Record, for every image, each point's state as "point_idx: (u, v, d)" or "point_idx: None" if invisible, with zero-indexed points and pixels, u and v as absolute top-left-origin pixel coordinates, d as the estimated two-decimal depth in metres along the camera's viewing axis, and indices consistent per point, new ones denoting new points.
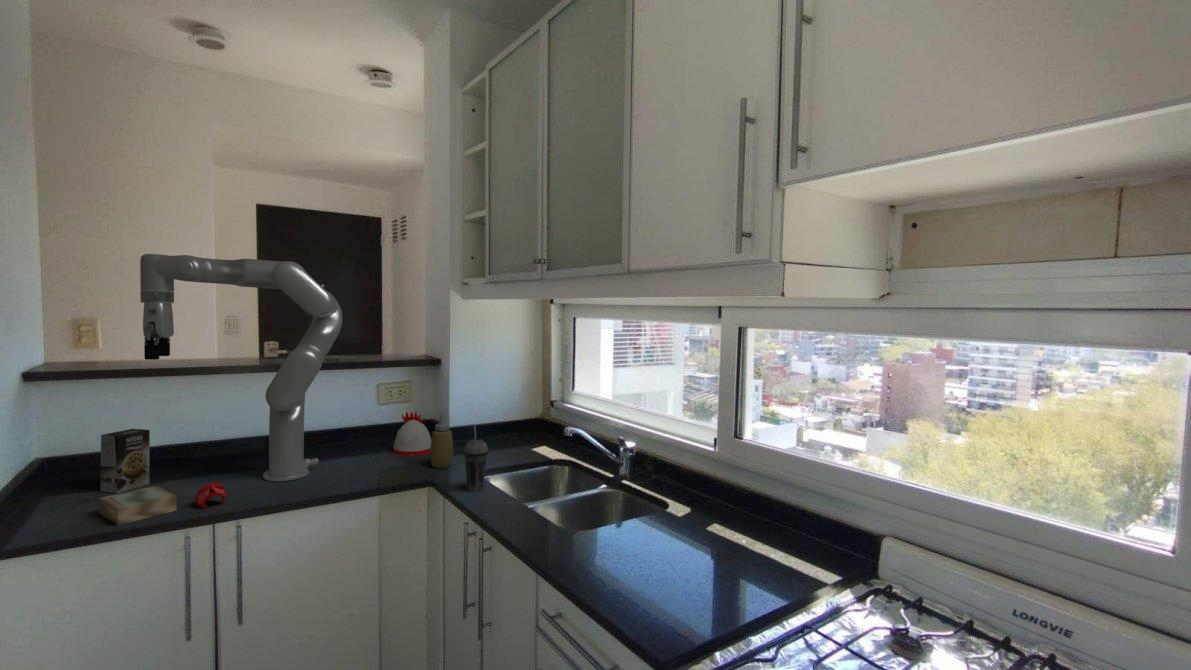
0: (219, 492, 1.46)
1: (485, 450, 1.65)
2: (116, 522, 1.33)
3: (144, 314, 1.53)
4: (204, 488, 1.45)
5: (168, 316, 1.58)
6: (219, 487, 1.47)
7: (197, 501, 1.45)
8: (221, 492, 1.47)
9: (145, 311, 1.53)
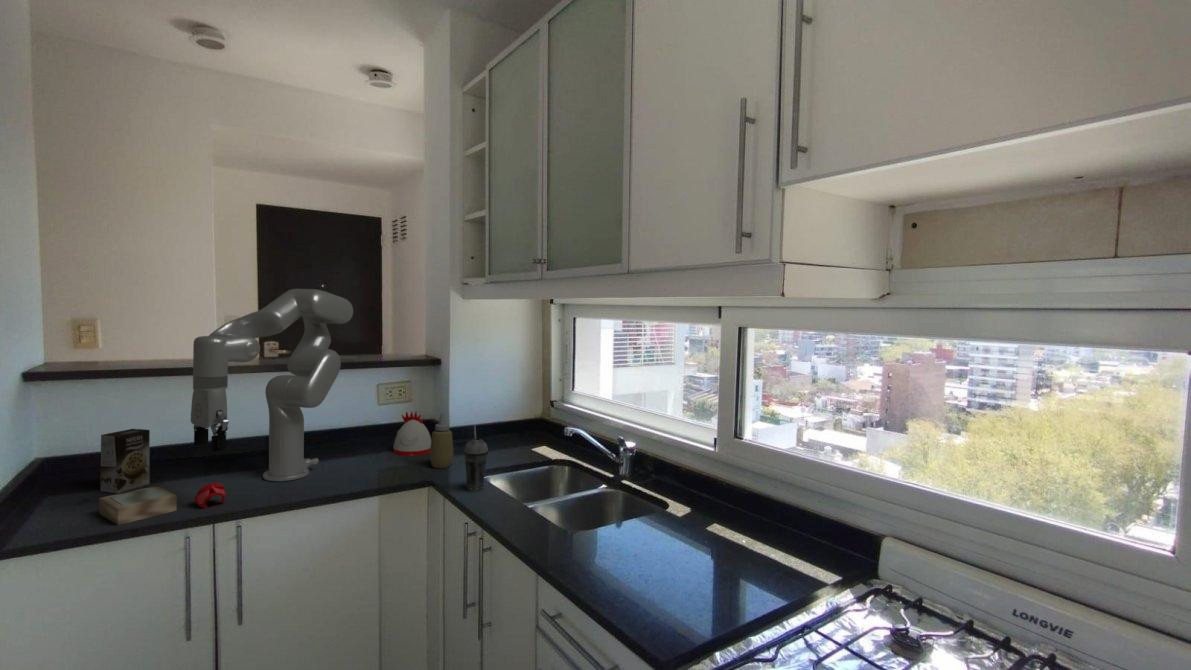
0: (219, 492, 1.46)
1: (485, 450, 1.65)
2: (116, 522, 1.33)
3: None
4: (204, 488, 1.45)
5: (196, 403, 1.44)
6: (219, 487, 1.47)
7: (197, 501, 1.45)
8: (221, 492, 1.47)
9: None
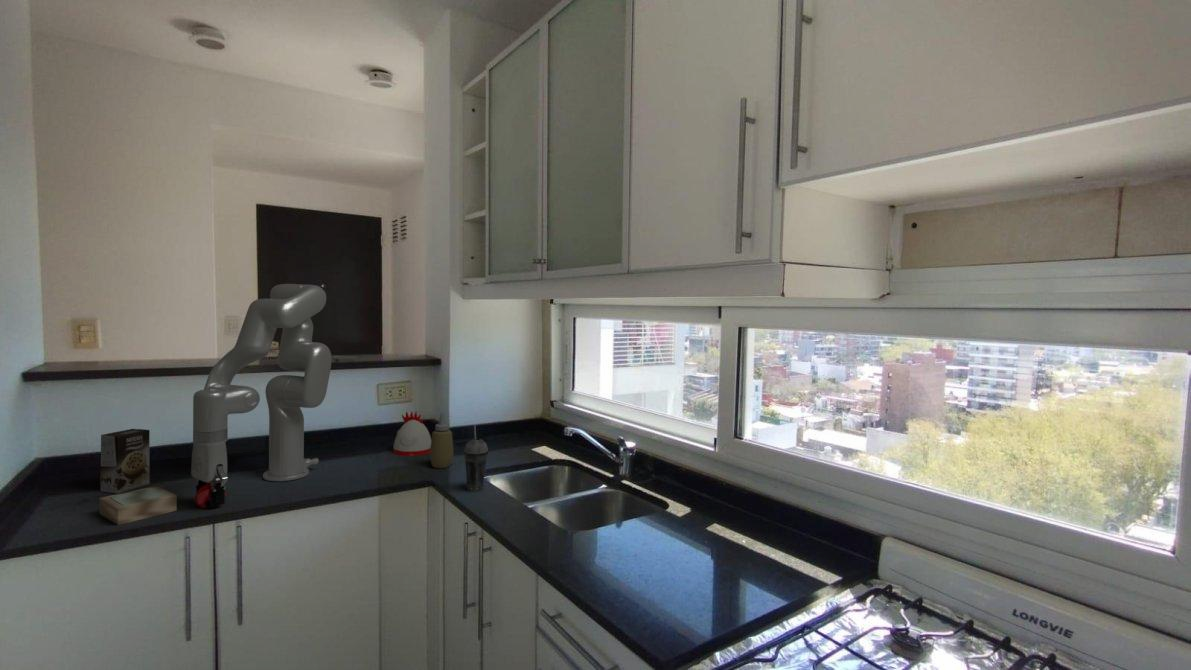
0: None
1: (485, 450, 1.65)
2: (116, 522, 1.33)
3: None
4: (204, 488, 1.45)
5: (196, 456, 1.45)
6: None
7: (197, 501, 1.45)
8: None
9: None
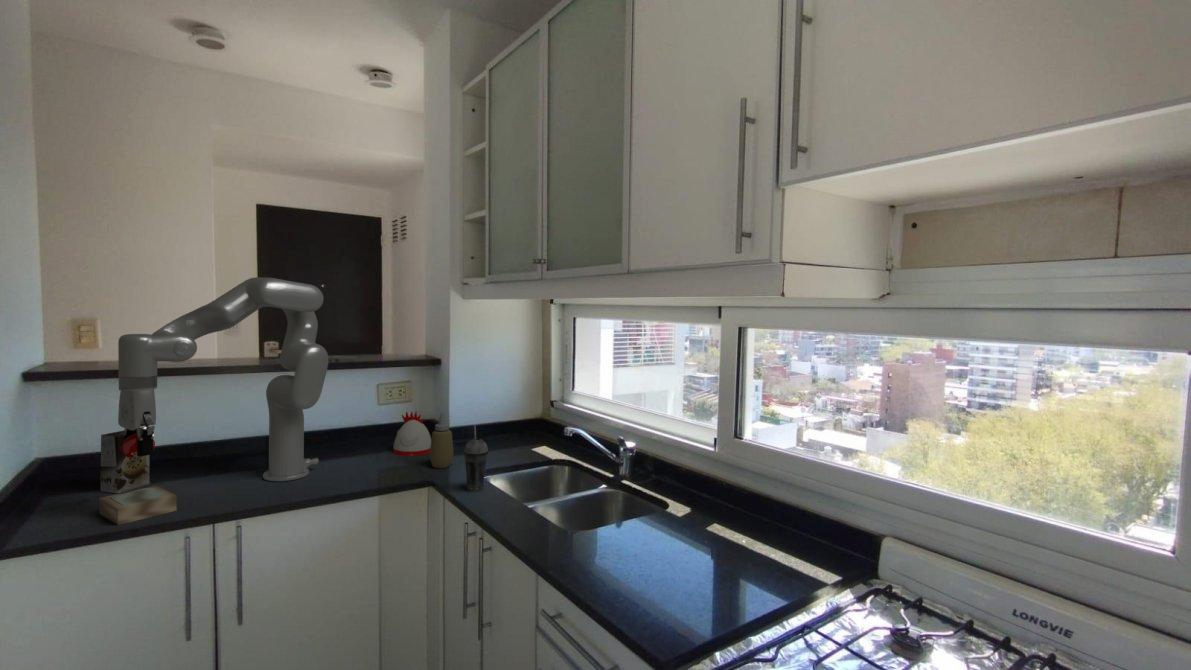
0: None
1: (485, 450, 1.65)
2: (116, 522, 1.33)
3: None
4: (130, 437, 1.38)
5: (122, 404, 1.38)
6: None
7: (123, 450, 1.37)
8: None
9: None
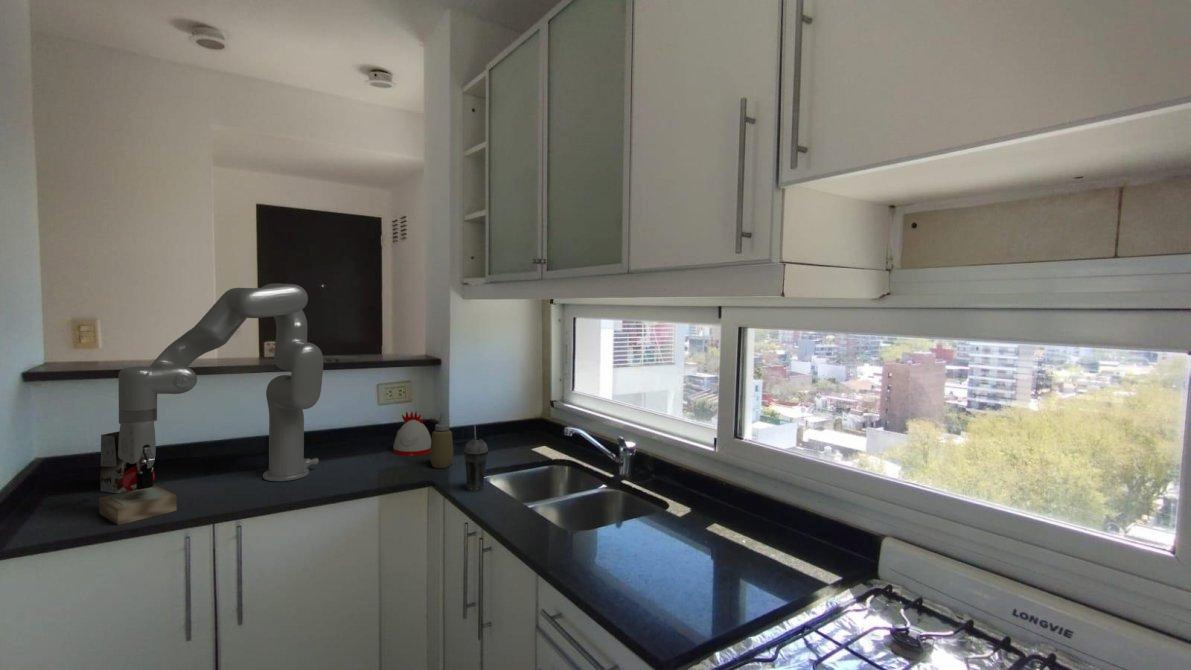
0: None
1: (485, 450, 1.65)
2: (116, 522, 1.33)
3: None
4: (130, 470, 1.38)
5: (122, 437, 1.38)
6: None
7: (122, 483, 1.38)
8: None
9: None
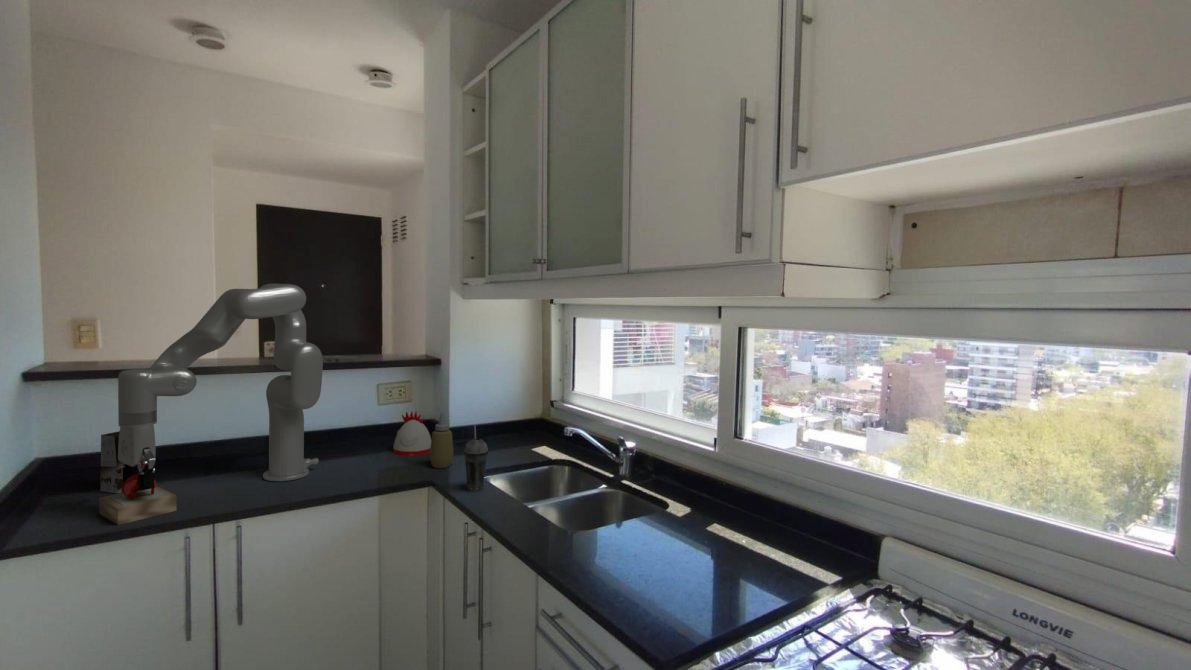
0: None
1: (485, 450, 1.65)
2: (116, 522, 1.33)
3: None
4: (131, 478, 1.39)
5: (122, 440, 1.38)
6: None
7: (124, 491, 1.38)
8: None
9: None
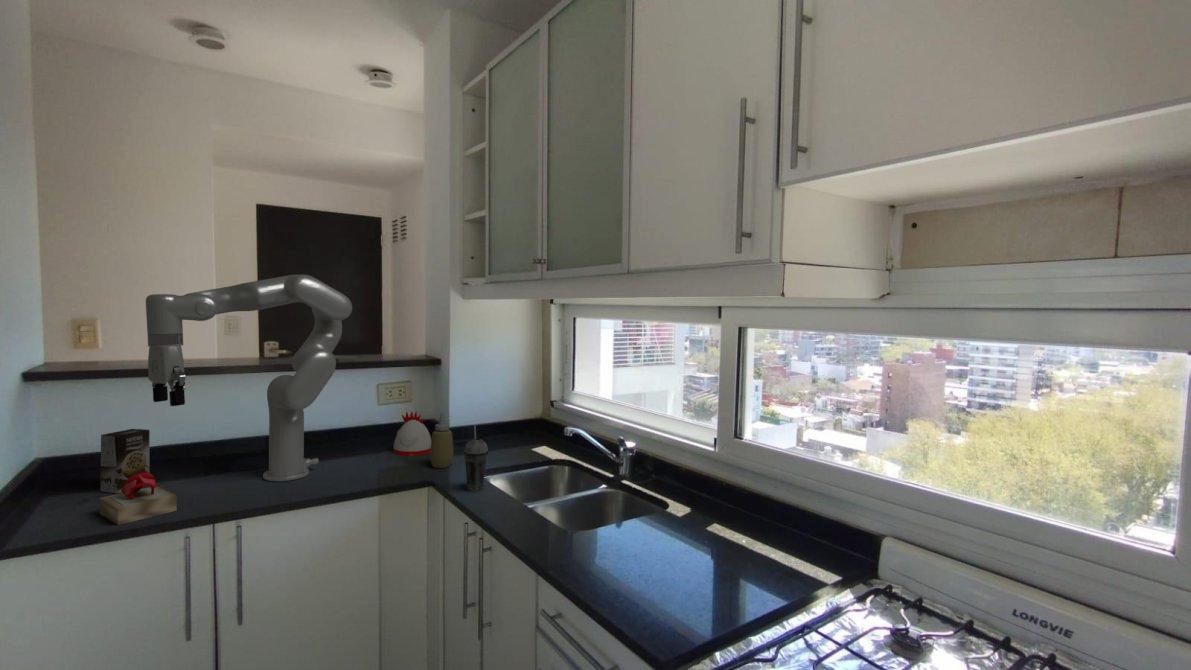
0: (147, 482, 1.39)
1: (485, 450, 1.65)
2: (116, 522, 1.33)
3: None
4: (131, 478, 1.38)
5: (152, 360, 1.47)
6: (148, 477, 1.40)
7: (123, 492, 1.38)
8: (150, 482, 1.40)
9: None
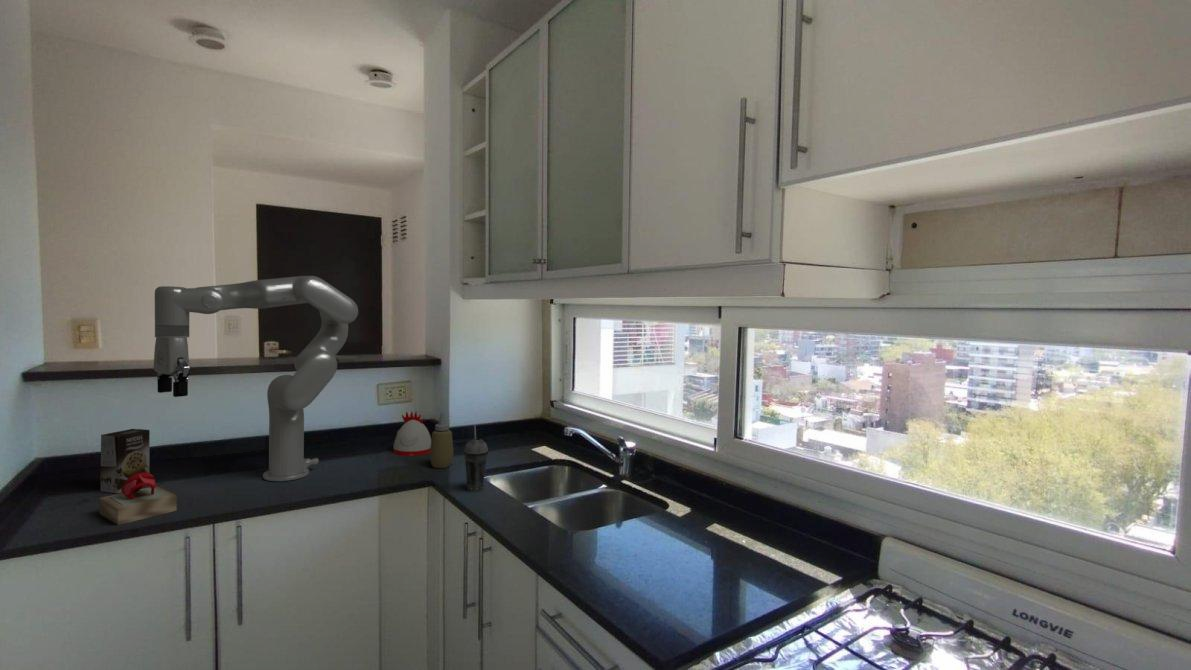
0: (147, 482, 1.39)
1: (485, 450, 1.65)
2: (116, 522, 1.33)
3: None
4: (131, 478, 1.38)
5: (158, 351, 1.49)
6: (148, 477, 1.40)
7: (123, 492, 1.38)
8: (150, 482, 1.40)
9: None
